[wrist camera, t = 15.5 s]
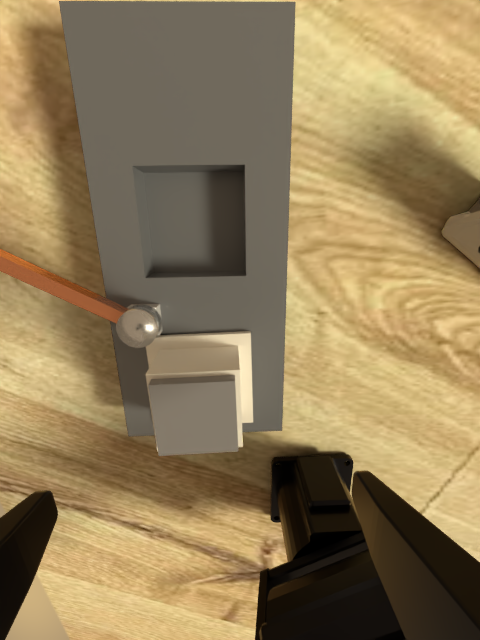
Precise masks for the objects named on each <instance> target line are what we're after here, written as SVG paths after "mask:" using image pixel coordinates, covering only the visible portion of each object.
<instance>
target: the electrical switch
mask: <svg viewBox="0 0 480 640" xmlns="http://www.w3.org/2000/svg"><path fill="white" fill-rule="evenodd" d="M441 232H442V235H443V237H444V238H446V239H447V240H448V241H449V242H450V243H451V244H453V245H454V246H455V247H456V248H457V249H458V250H459V251H461V252H462V253H463V254H464V255H465V256H466V257H467V258H469V259H470V260H471V261H472V262H473V263H474V264H475V265H477V266H478V267H479V268H480V197H479V199H478V201H477V202H476V203H475V204H474V205H473V206H472V207H471V208H470V210H469V211H468V212H465V213H461V214H457V215H454V216H450V217H449V219H448V220H447V222H446V224H445V225H444V227H443V229H442V231H441Z"/></svg>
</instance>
